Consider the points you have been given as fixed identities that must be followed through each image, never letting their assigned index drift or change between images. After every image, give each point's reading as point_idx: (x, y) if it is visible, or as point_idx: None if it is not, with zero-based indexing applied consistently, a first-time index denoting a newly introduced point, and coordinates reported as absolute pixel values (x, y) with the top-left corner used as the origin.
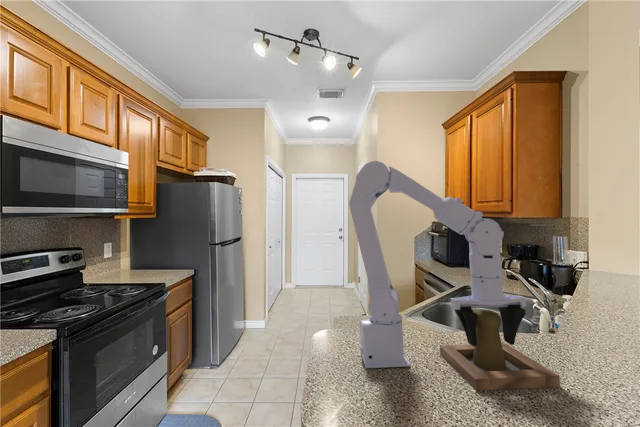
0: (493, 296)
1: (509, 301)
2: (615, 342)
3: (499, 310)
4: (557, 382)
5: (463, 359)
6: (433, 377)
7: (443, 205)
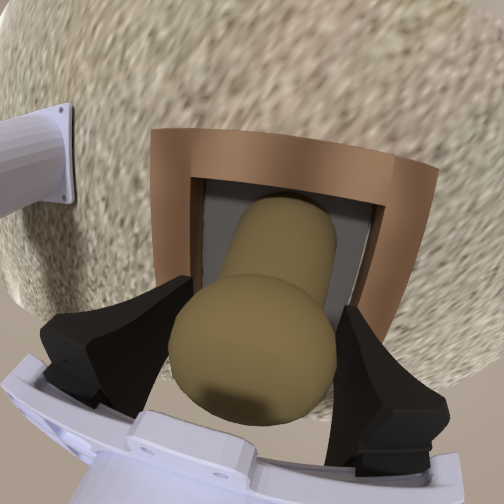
0: None
1: None
2: None
3: (374, 390)
4: None
5: (178, 256)
6: (110, 257)
7: None
